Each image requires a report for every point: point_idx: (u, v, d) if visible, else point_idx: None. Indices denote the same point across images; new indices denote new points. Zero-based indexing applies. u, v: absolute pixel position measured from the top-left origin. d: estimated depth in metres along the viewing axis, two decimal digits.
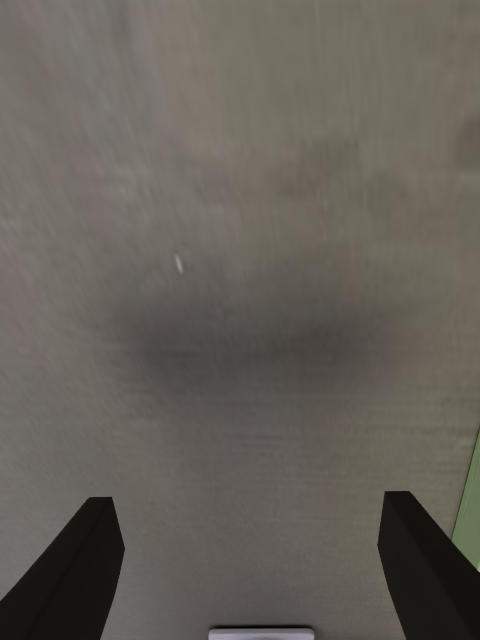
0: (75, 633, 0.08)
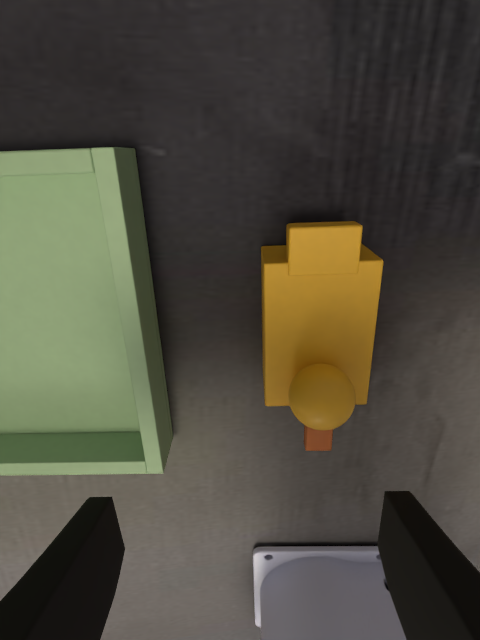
0: (75, 633, 0.08)
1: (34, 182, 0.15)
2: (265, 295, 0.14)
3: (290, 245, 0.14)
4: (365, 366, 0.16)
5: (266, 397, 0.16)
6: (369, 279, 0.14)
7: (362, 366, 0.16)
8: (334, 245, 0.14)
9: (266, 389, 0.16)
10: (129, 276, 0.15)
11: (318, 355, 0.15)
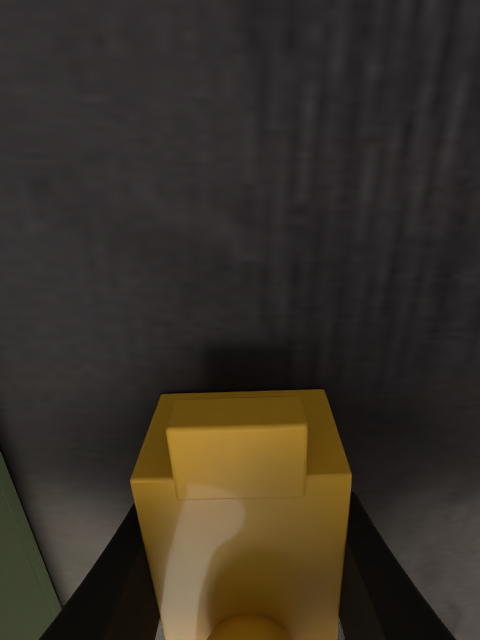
0: (137, 632, 0.08)
1: None
2: (141, 524, 0.08)
3: (172, 455, 0.07)
4: (329, 616, 0.09)
5: None
6: (327, 503, 0.08)
7: (324, 616, 0.09)
8: (256, 457, 0.07)
9: None
10: None
11: (247, 601, 0.09)
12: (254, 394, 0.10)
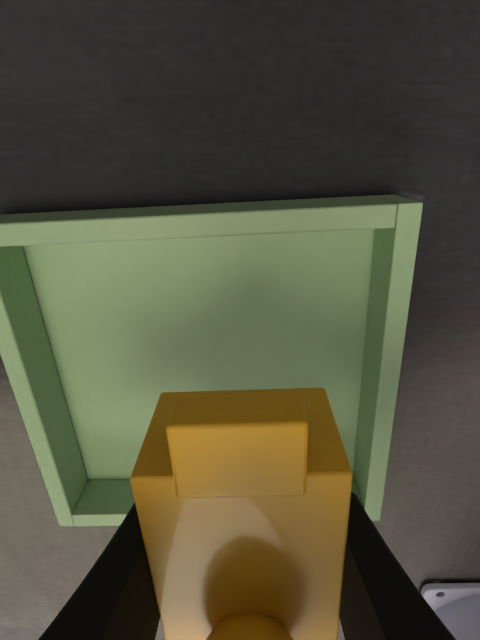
0: (137, 633, 0.08)
1: None
2: (141, 522, 0.08)
3: (172, 454, 0.07)
4: (330, 615, 0.09)
5: None
6: (328, 501, 0.08)
7: (324, 615, 0.09)
8: (256, 455, 0.07)
9: (166, 639, 0.10)
10: (402, 329, 0.14)
11: (247, 600, 0.09)
12: (254, 393, 0.10)
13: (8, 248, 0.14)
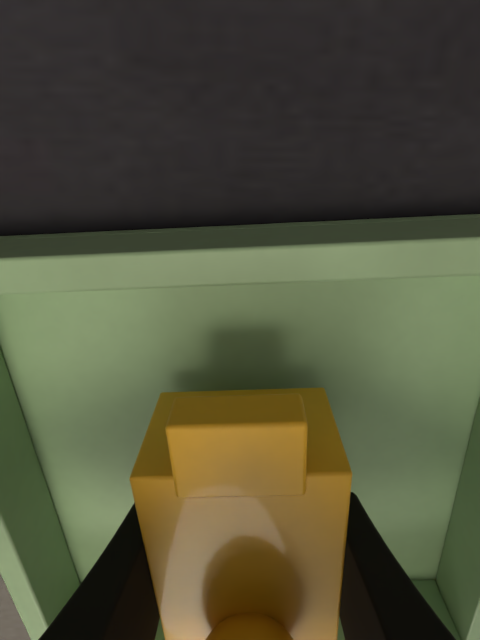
0: (137, 632, 0.08)
1: None
2: (140, 522, 0.08)
3: (171, 454, 0.07)
4: (329, 615, 0.09)
5: None
6: (327, 501, 0.08)
7: (324, 615, 0.09)
8: (255, 454, 0.07)
9: None
10: None
11: (247, 600, 0.09)
12: (254, 392, 0.10)
13: None
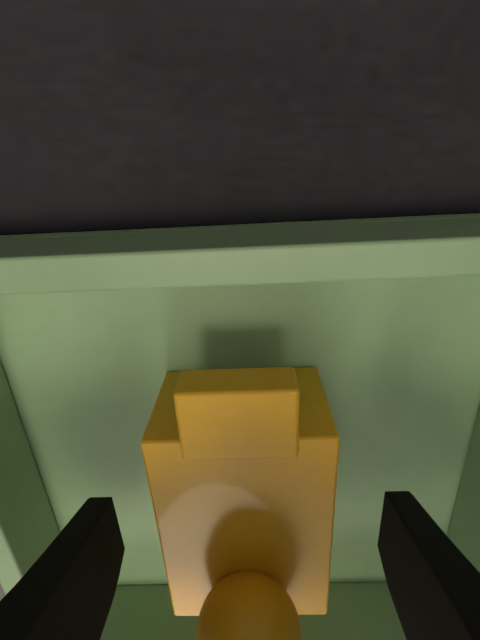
0: (75, 633, 0.08)
1: None
2: (150, 483, 0.09)
3: (178, 418, 0.08)
4: (321, 572, 0.10)
5: (173, 606, 0.11)
6: (318, 463, 0.08)
7: (316, 572, 0.10)
8: (253, 419, 0.08)
9: (172, 597, 0.11)
10: None
11: (246, 558, 0.10)
12: None
13: None
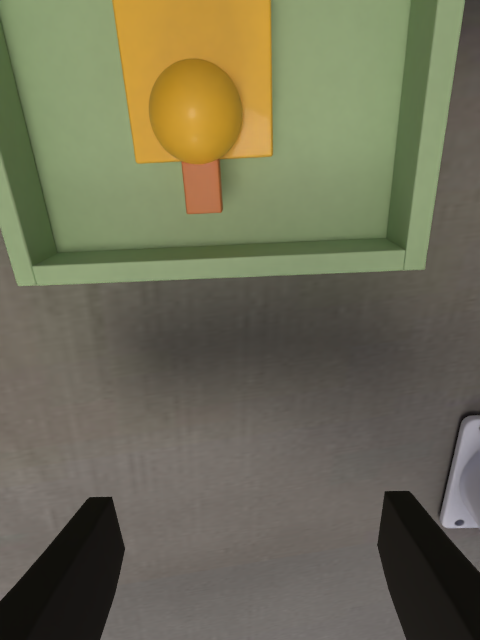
0: (75, 633, 0.08)
1: None
2: None
3: None
4: (263, 85, 0.11)
5: (135, 147, 0.12)
6: None
7: (259, 85, 0.11)
8: None
9: (133, 132, 0.12)
10: None
11: None
12: None
13: None
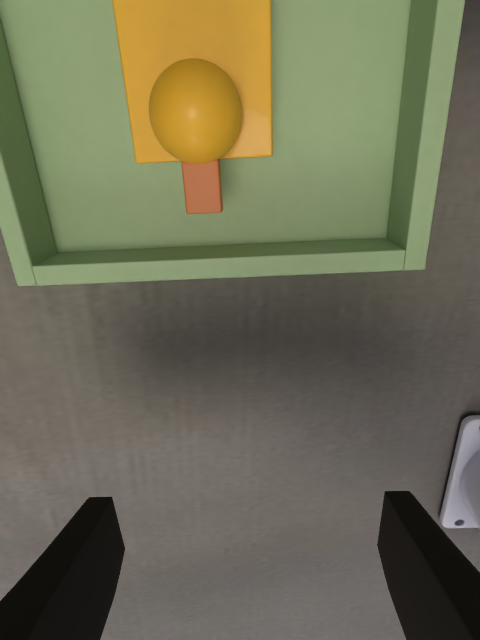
0: (75, 633, 0.08)
1: None
2: None
3: None
4: (263, 85, 0.11)
5: (135, 147, 0.12)
6: None
7: (259, 85, 0.11)
8: None
9: (133, 132, 0.12)
10: None
11: None
12: None
13: None
